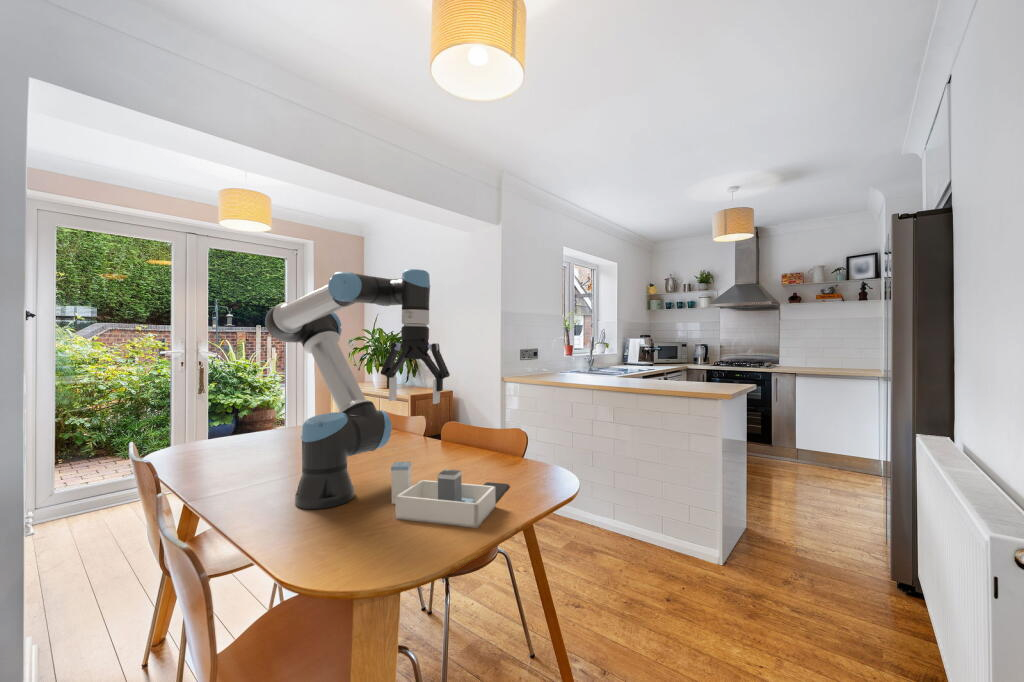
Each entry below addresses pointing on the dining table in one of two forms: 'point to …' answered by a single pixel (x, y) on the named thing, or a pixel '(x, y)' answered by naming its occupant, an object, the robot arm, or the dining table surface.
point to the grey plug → (450, 485)
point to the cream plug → (400, 478)
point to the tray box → (445, 504)
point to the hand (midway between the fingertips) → (414, 401)
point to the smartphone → (498, 489)
